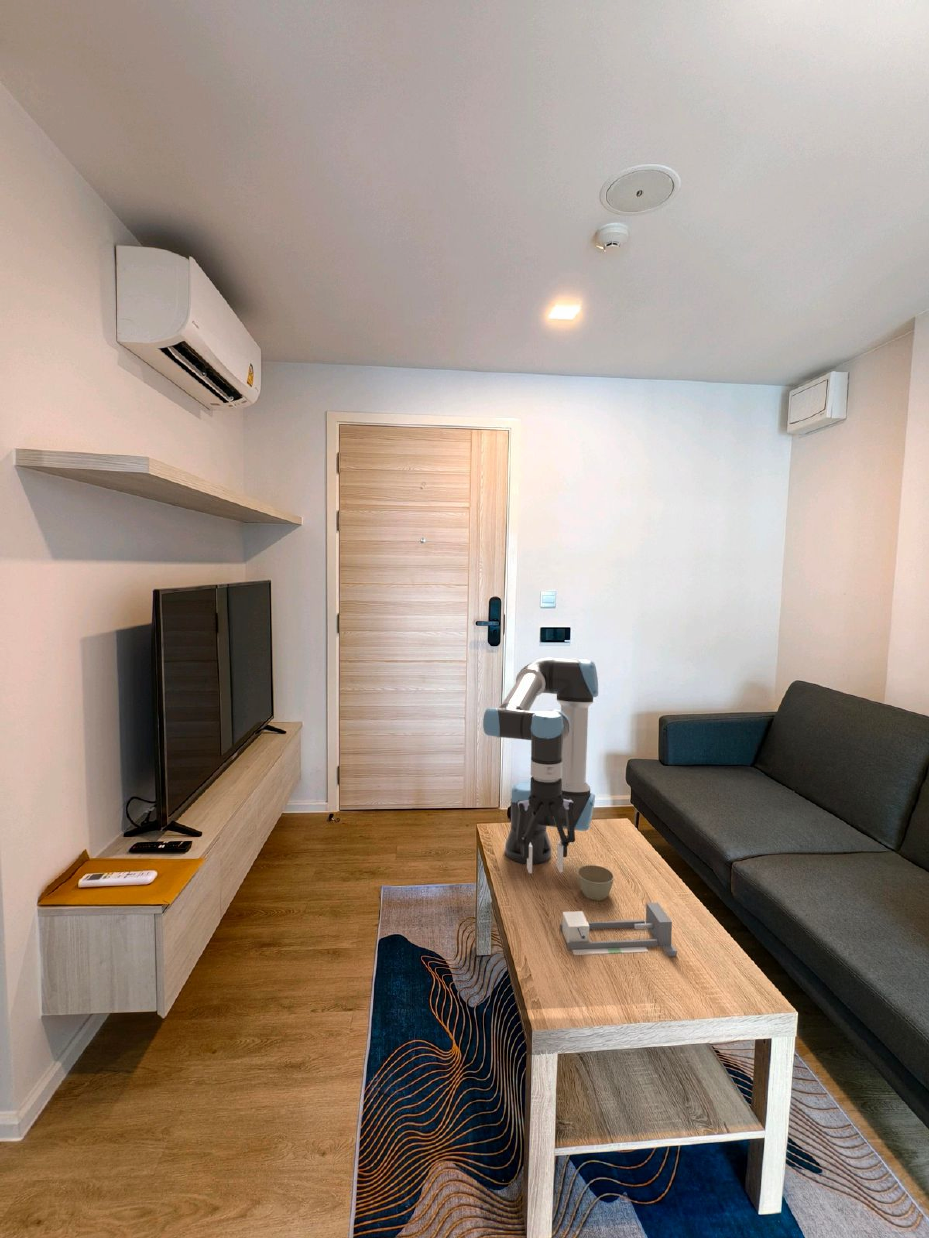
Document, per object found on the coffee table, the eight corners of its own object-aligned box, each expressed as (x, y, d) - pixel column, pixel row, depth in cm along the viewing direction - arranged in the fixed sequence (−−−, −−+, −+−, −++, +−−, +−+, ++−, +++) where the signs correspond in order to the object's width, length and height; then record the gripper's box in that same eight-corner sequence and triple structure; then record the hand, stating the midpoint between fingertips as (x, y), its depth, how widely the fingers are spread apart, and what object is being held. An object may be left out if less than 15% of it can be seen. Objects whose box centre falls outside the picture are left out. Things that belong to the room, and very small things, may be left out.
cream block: (562, 930, 138) (562, 911, 137) (581, 930, 138) (582, 911, 138) (572, 956, 128) (573, 935, 128) (593, 955, 129) (593, 935, 128)
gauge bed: (549, 928, 140) (550, 901, 140) (655, 924, 143) (656, 898, 142) (561, 960, 129) (561, 931, 128) (676, 955, 131) (677, 926, 130)
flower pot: (614, 910, 149) (615, 885, 148) (577, 905, 151) (577, 880, 150) (612, 890, 158) (612, 866, 158) (576, 886, 160) (577, 862, 160)
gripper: (508, 783, 127) (506, 879, 129) (591, 782, 129) (589, 876, 130) (503, 772, 135) (502, 863, 136) (582, 771, 136) (580, 860, 138)
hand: (544, 869), depth 133 cm, fingers open, 7 cm apart
